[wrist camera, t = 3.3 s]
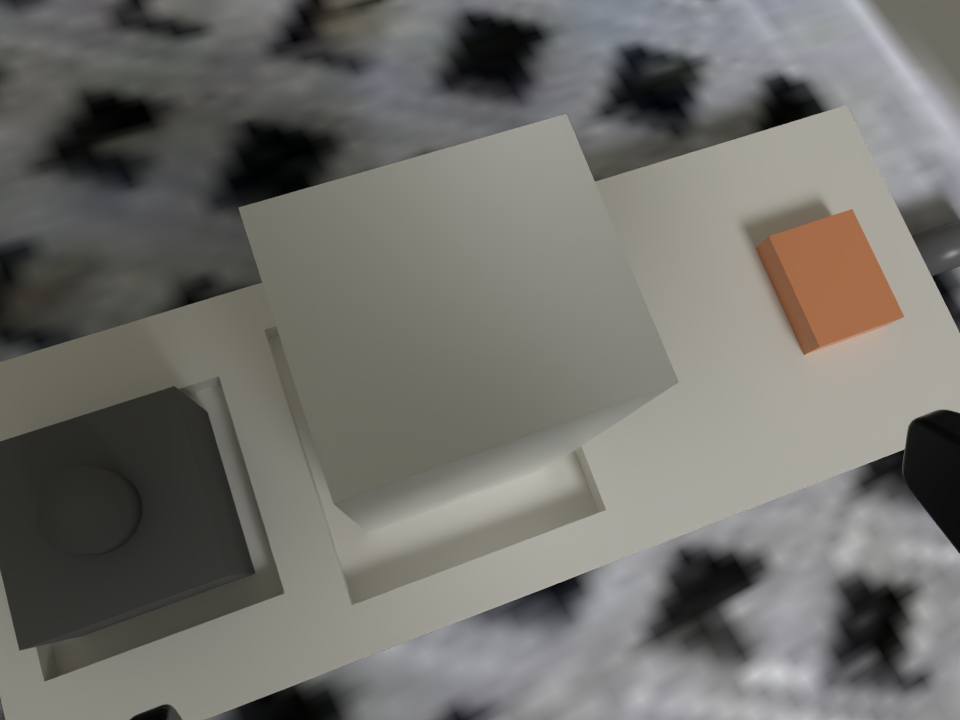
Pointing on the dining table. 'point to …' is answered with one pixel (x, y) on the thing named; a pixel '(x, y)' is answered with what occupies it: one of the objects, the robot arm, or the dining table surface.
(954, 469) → the robot arm
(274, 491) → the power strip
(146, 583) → the black plug
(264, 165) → the dining table surface
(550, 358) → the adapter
